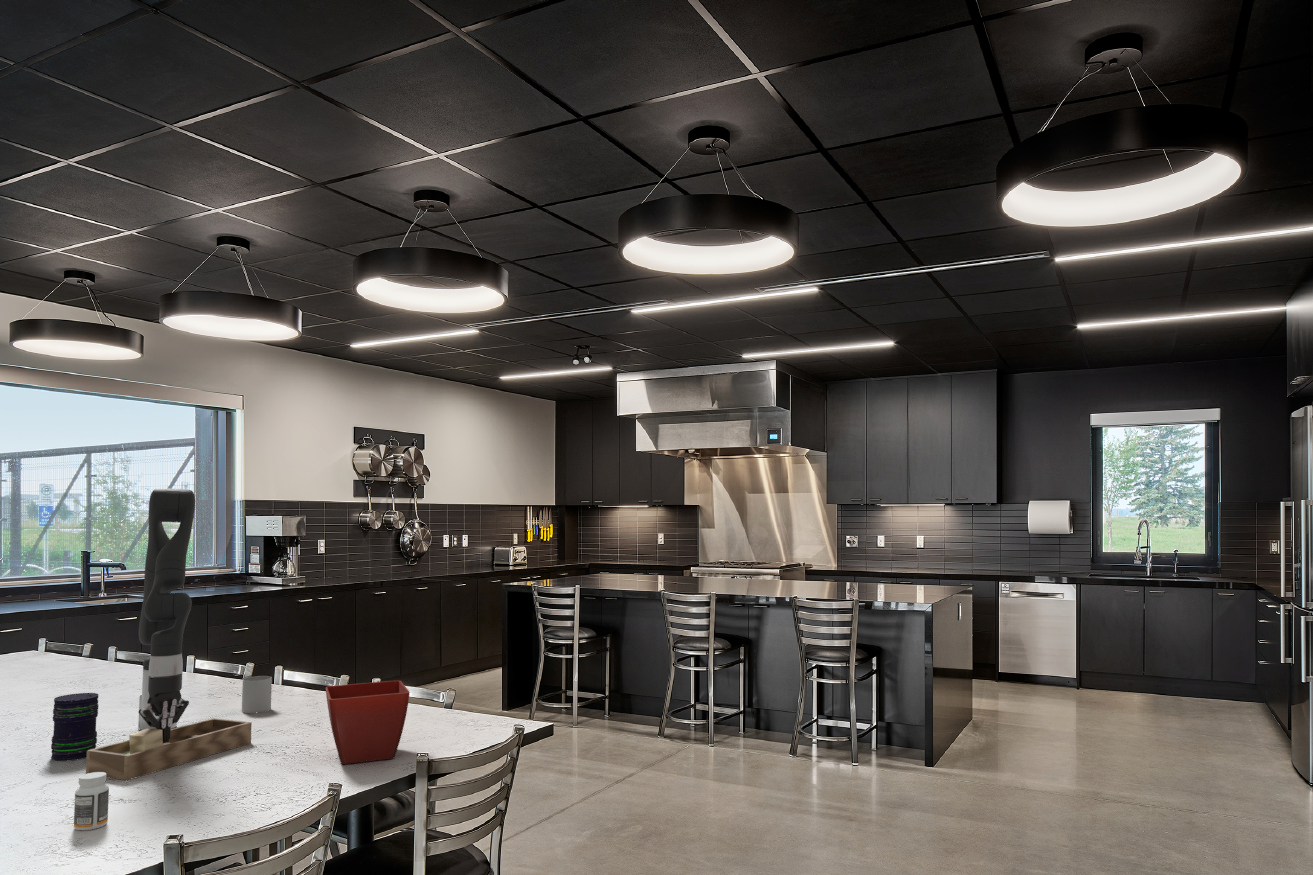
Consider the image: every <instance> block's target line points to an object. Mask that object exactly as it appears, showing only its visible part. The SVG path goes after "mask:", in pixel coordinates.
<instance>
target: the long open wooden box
mask: <svg viewBox="0 0 1313 875" xmlns="http://www.w3.org/2000/svg"><path fill="white" fill-rule="evenodd" d="M249 743H250V744H251V743H252V721H251V722H250V721H242V720H233V719H227V718H226V719H224V718H217V717H214V718H213V717H212V718H209V719H205V720H200V721H198V722H192V723H190V724H186V725H183V726H182V725H181V726H178V727H177V726H176V727H175V728H172V729H171V731H170V739H169V741H168V742H166V743H163V746H159V747H155V748H152V749H148V750H144V751H141V752H137V753H133V754H130V740H129V739H126V740H122V741H119V742H115V743H110V744H108V745H104V746H99V747H96V748H95V749H91V750H87V758H85V759H86V761H85V763H86V764H85V774H88V773H94V772H105V773H106V775H107V777H110V778H109V779H114V778H117V779H116V780H120V779H121V781H126V780H127V781H130V780H132V779H131V778H133V779H136V778H135V777H137V778H140V777H143V776H146V774H147V775H149V774H152V772H153V773H157V772H159V770H160V771H163V770H166V768H167V769H169V768H173V767H176V766H175V765H177V766H180V765H182V764H186V763H189V761H190V762H193V761H197V760H200V759H202V758H207V757H209V756H208V755H210V756H212V755H211V754H213V755H216V754H215V753H217V754H219V752H220V753H223V752H226V750H227V751H229V750H228V749H230V750H232V748H233V749H236V747H237V748H239V746H240V747H243V746H246V745H249ZM222 751H223V752H222ZM206 756H207V757H206ZM199 758H200V759H199ZM196 759H197V760H196ZM179 764H180V765H179ZM172 766H173V767H172ZM156 771H157V772H156ZM139 776H140V777H139Z"/></svg>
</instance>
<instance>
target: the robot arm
mask: <svg viewBox="0 0 1313 875" xmlns="http://www.w3.org/2000/svg"><path fill="white" fill-rule="evenodd" d="M195 496H196V495H195V492H194V491H193V490H191V489H187V488H165V487H162V488H155V489H153V490H152V492H151V493H150V495H149V500H148V535H147V537H148V539H147V546H146V547H147V549H146V554H145V555H146V556H145V563H144V578H143V579H144V580H143V581H144V583H143V596H142V597H143V598H142V605H141V612H140V617H139V623H138V640H139V642H140V644H142V645H145V646H150V656H148V657H146V658H145V659H144V660H143V662H142V683H141V684H142V685H141V687H142V688H141V695H139V702H138V703H139V704H138V726H137V727H138V730H139V731H141V730H144V729H147V728H149V729H159V730H162V735H163V743H166V742H168V741H169V739H170V731H171V729H173V728H177V726H178V725H177V724H178V722H179V721H180V718H181V717H182V716H183V714H184V712H185V711H186V709H187V708H188V706H189V704H190V701H189V700H185V699H184V698H182V694H181V690H182V688H183V666H184V665H183V638H184V632H185V628H186V624H187V620H188V618H189V615H190V613H191V610H192V606H193V601H192V598H191V596H190V595H189V594H188V593H186V592H173V591H175V590H176V591H177V590H179V589H180V588H182V587H183V586H184V584H185V581H186V568H187V555H188V549H189V544H190V540H191V534H192V529H193V524H194V517H195V510H196V497H195ZM163 523H180V524H179V526H178V529H177V530H176V531H175V533H174V534H173V535H172V537H171V538H170V537H169V536H168V535H167V533H166V531H165V528H164V524H163Z"/></svg>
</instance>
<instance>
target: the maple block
mask: <svg viewBox="0 0 1313 875" xmlns="http://www.w3.org/2000/svg"><path fill="white" fill-rule="evenodd" d="M128 737H129V739H128V740H130V754H133V753H137V752H141V751H144V750H148V749H152V748H155V747H159V746H163V735H162V730H159V729H149V728H147V729H144V730H139V731H136V732H134V733H131V734H129V736H128Z"/></svg>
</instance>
